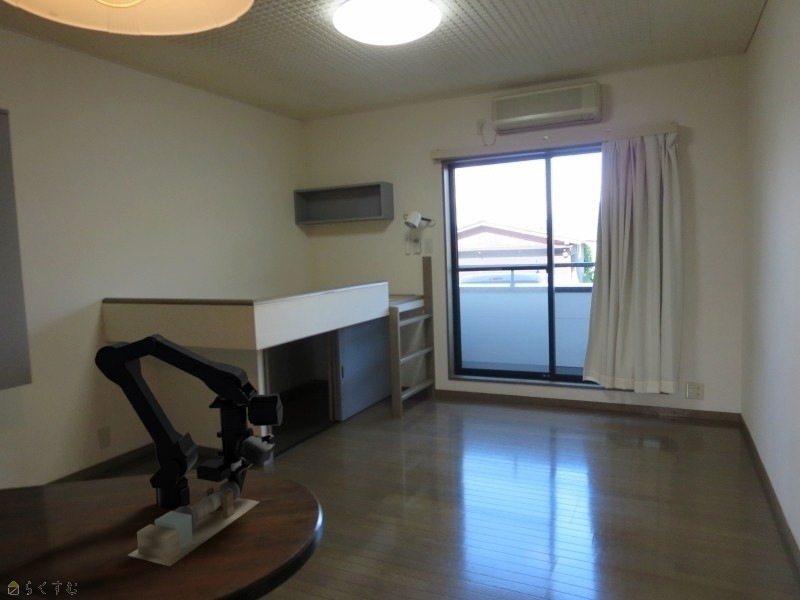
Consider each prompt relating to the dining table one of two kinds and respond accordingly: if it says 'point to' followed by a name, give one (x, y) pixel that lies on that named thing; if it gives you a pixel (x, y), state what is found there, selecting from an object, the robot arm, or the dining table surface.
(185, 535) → the block
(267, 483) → the dining table surface
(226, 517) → the bench
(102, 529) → the dining table surface
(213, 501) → the shaft
